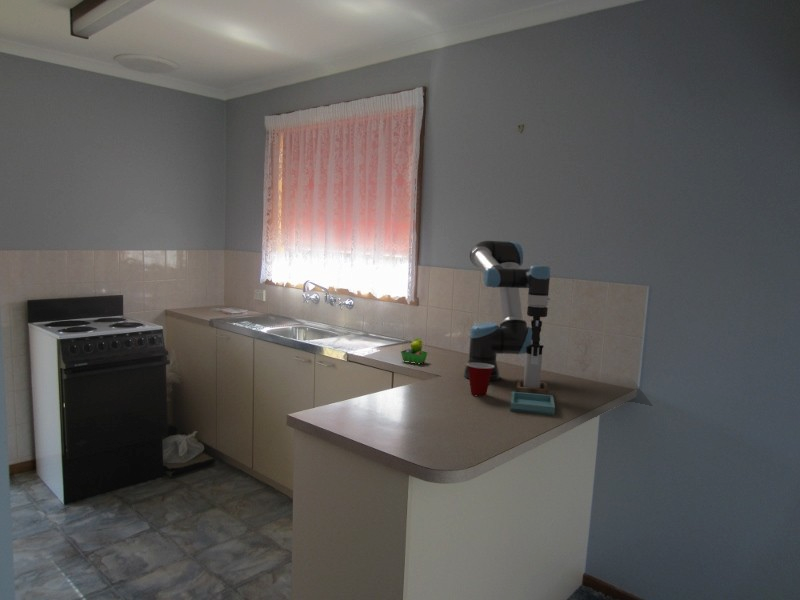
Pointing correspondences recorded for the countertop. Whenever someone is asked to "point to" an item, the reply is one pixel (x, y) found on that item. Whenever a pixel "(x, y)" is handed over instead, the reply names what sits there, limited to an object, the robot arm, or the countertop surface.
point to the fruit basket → (415, 352)
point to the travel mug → (532, 369)
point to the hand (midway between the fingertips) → (534, 360)
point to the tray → (532, 403)
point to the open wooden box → (522, 389)
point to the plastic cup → (479, 377)
